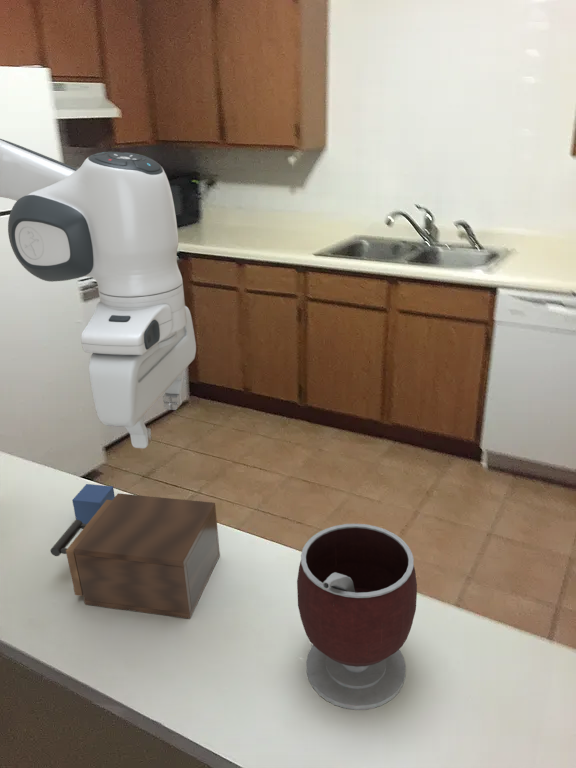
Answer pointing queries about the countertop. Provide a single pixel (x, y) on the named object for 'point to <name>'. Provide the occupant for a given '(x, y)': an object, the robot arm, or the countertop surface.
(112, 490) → the block
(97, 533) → the cabinet
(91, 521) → the drawer
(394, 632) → the mate gourd
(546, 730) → the countertop surface
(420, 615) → the countertop surface
